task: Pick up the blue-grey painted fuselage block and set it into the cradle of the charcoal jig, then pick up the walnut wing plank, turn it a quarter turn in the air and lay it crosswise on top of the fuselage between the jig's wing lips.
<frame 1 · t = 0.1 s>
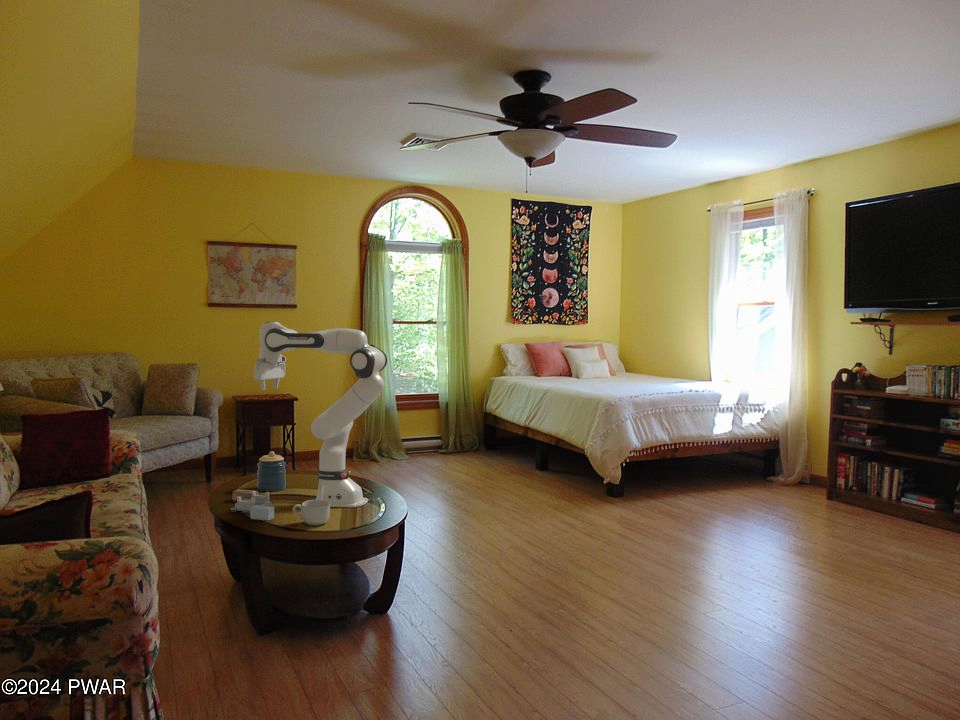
hand: (269, 389, 295), 48 cm above the table, fingers open, 8 cm apart
wing: (245, 501, 289), on the table
teacup: (311, 524, 256), on the table
jig: (253, 509, 275), on the table
canister: (271, 489, 312), on the table
fuselage: (262, 518, 262), on the table
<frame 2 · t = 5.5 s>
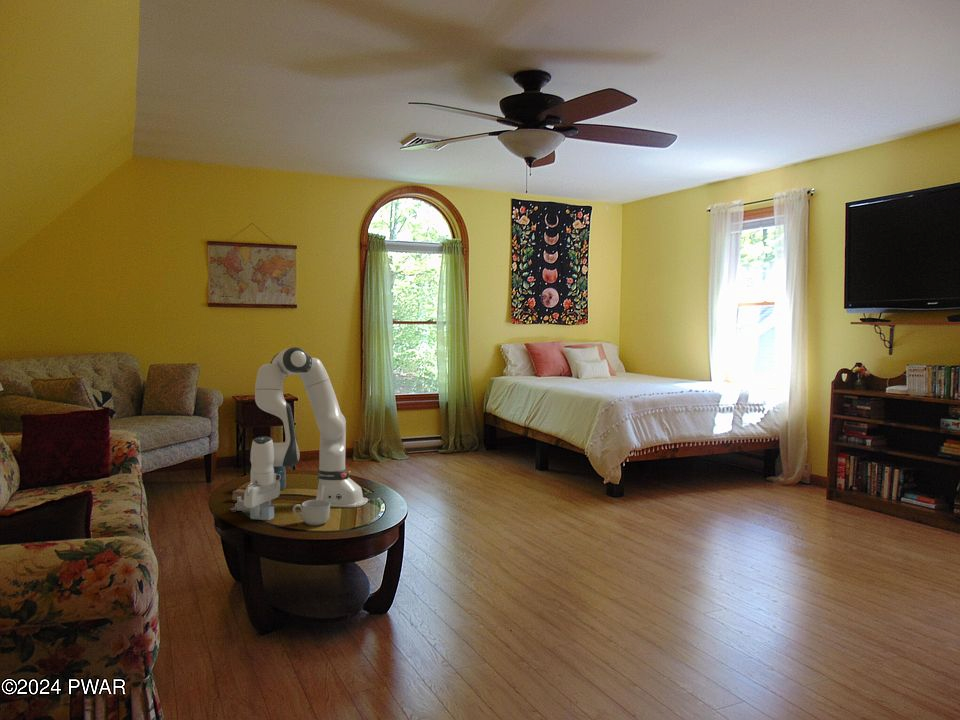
hand: (262, 513, 262), 2 cm above the table, fingers closed on fuselage, 4 cm apart
fuselage: (262, 518, 262), on the table, touching gripper
everything else where it was.
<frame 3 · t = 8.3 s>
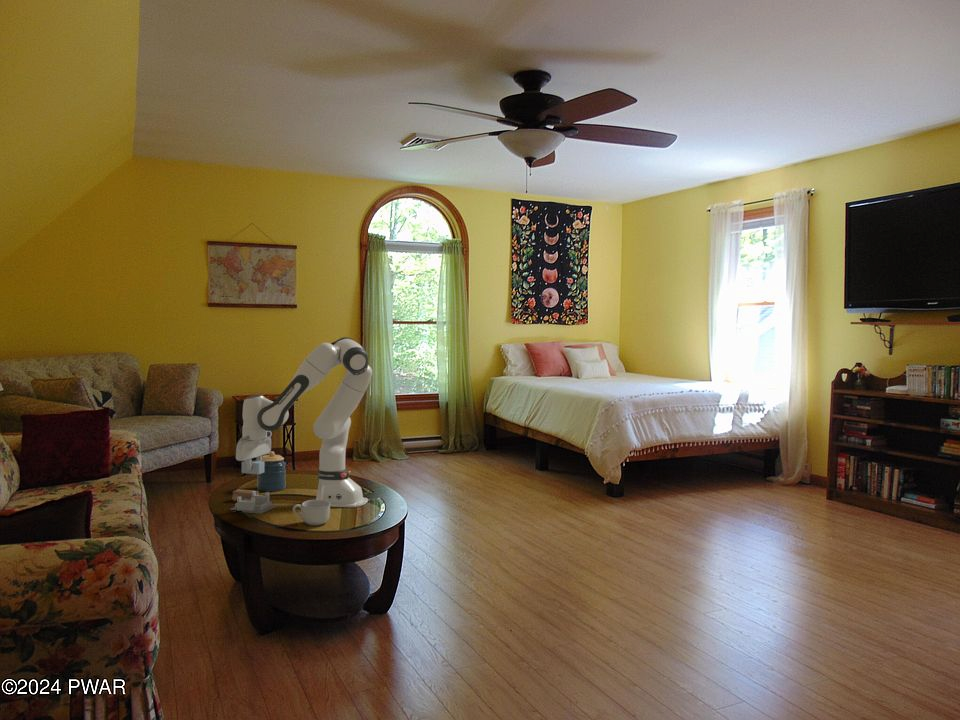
hand: (253, 468, 275), 17 cm above the table, fingers closed on fuselage, 4 cm apart
fuselage: (253, 472, 275), point 15 cm above the table, touching gripper
everything else where it was.
when the fingers open (5 cm above the table, at t = 10.9 s): fuselage drops 2 cm, resting on jig.
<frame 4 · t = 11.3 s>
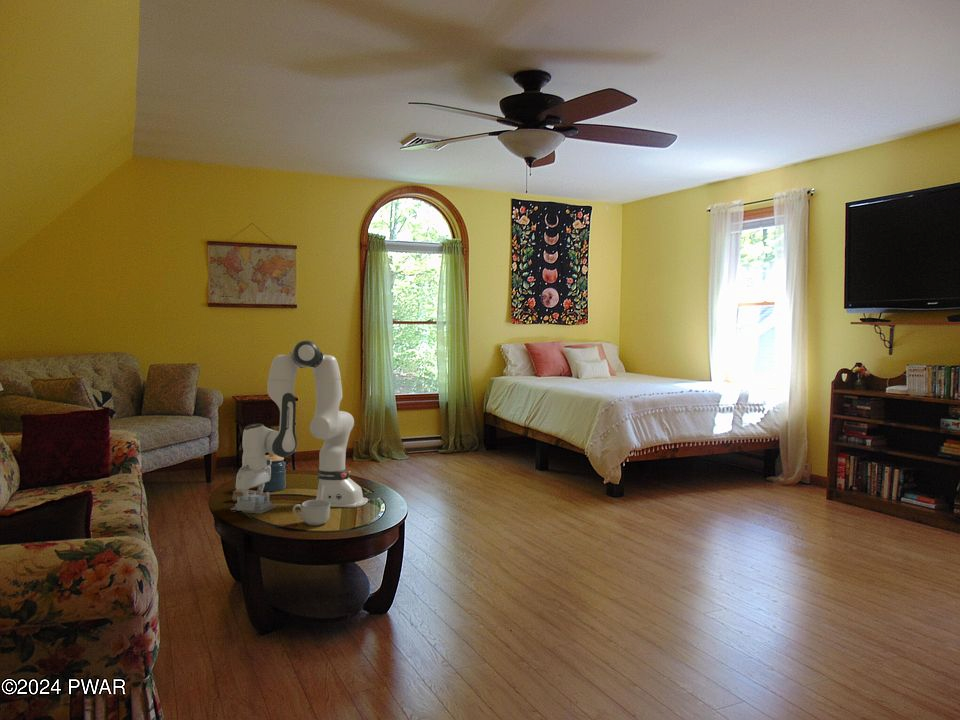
hand: (253, 496, 275), 5 cm above the table, fingers open, 8 cm apart
fuselage: (252, 506, 275), point 1 cm above the table, touching jig
everything else where it was.
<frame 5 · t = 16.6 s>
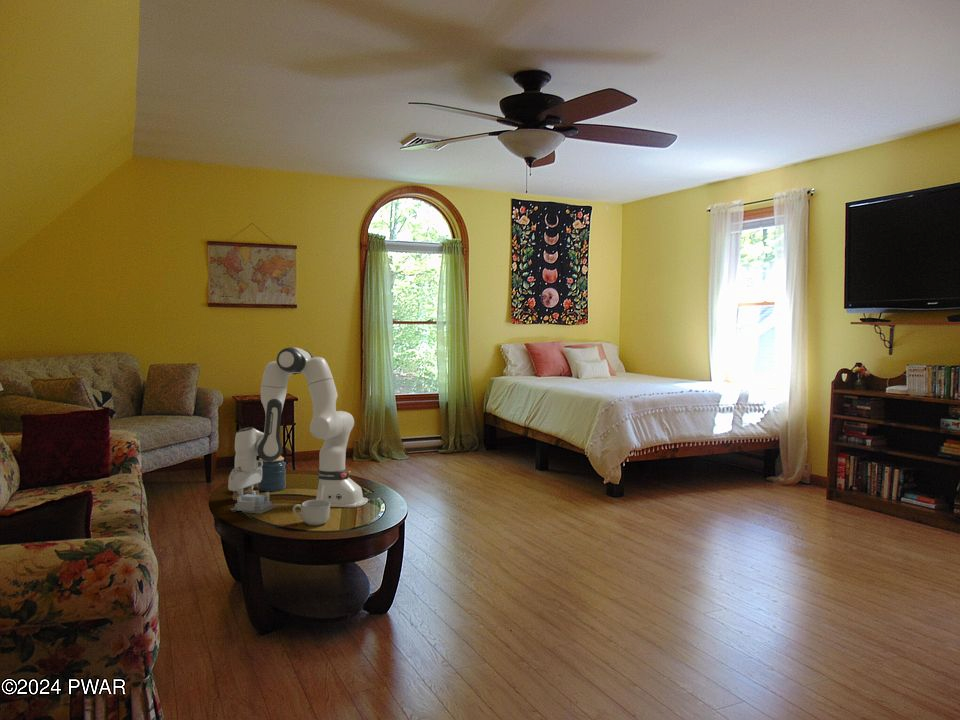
hand: (245, 496, 289), 2 cm above the table, fingers closed on wing, 4 cm apart
wing: (246, 501, 289), on the table, touching gripper
everything else where it was.
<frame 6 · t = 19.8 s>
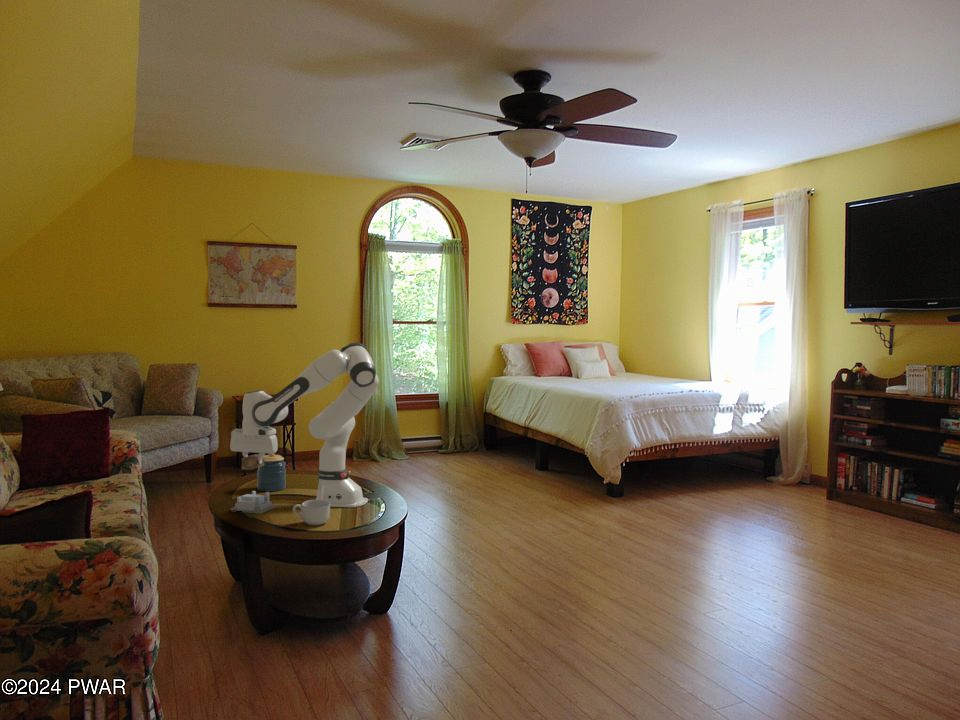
hand: (253, 463, 275), 19 cm above the table, fingers closed on wing, 4 cm apart
wing: (253, 467, 275), point 17 cm above the table, touching gripper
everything else where it was.
when the fingers open (8 cm above the table, at t = 23.1 s): wing stays where it is, resting on fuselage.
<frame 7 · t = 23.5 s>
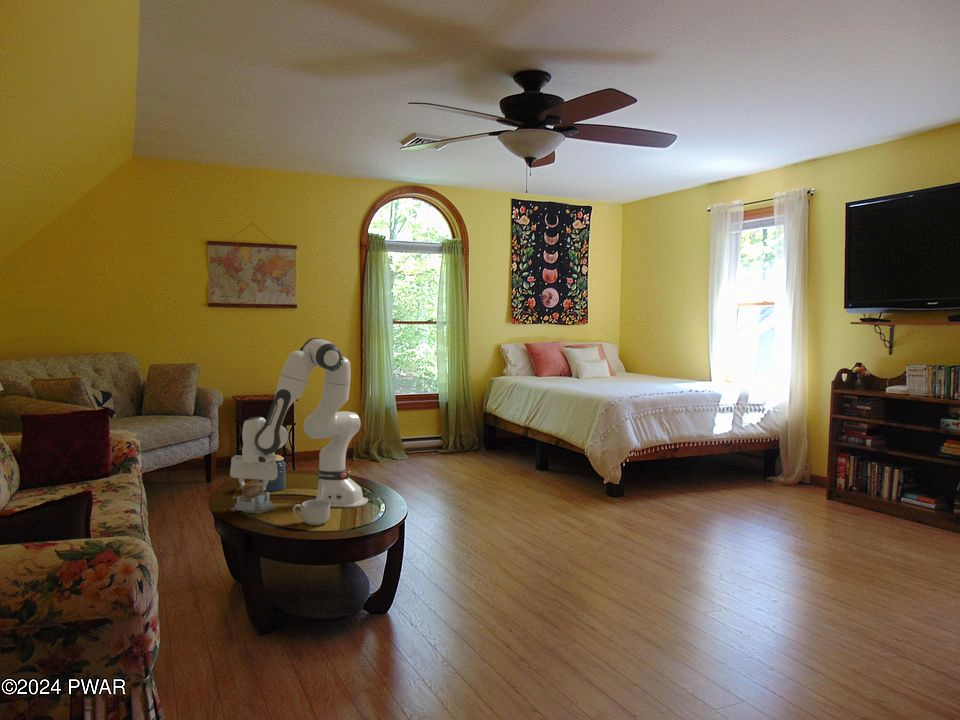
hand: (253, 489, 275), 8 cm above the table, fingers open, 8 cm apart
wing: (253, 495, 275), point 5 cm above the table, touching fuselage
fuselage: (252, 506, 275), point 1 cm above the table, touching jig, wing
everything else where it was.
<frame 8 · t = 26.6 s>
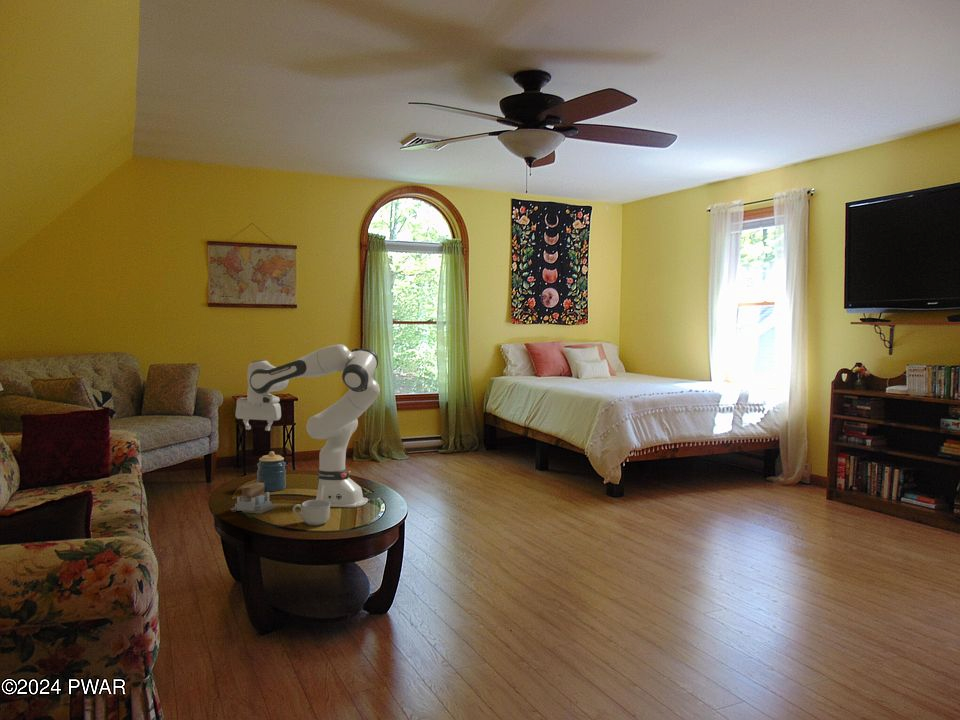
hand: (257, 430, 286), 31 cm above the table, fingers open, 8 cm apart
nothing on the table moved.
at the end: fuselage 0.3 cm off-centre on the jig, point 1.0 cm above the jig's base; wing 0.2 cm off-centre on the jig, point 5.5 cm above the jig's base; the gripper is holding nothing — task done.
